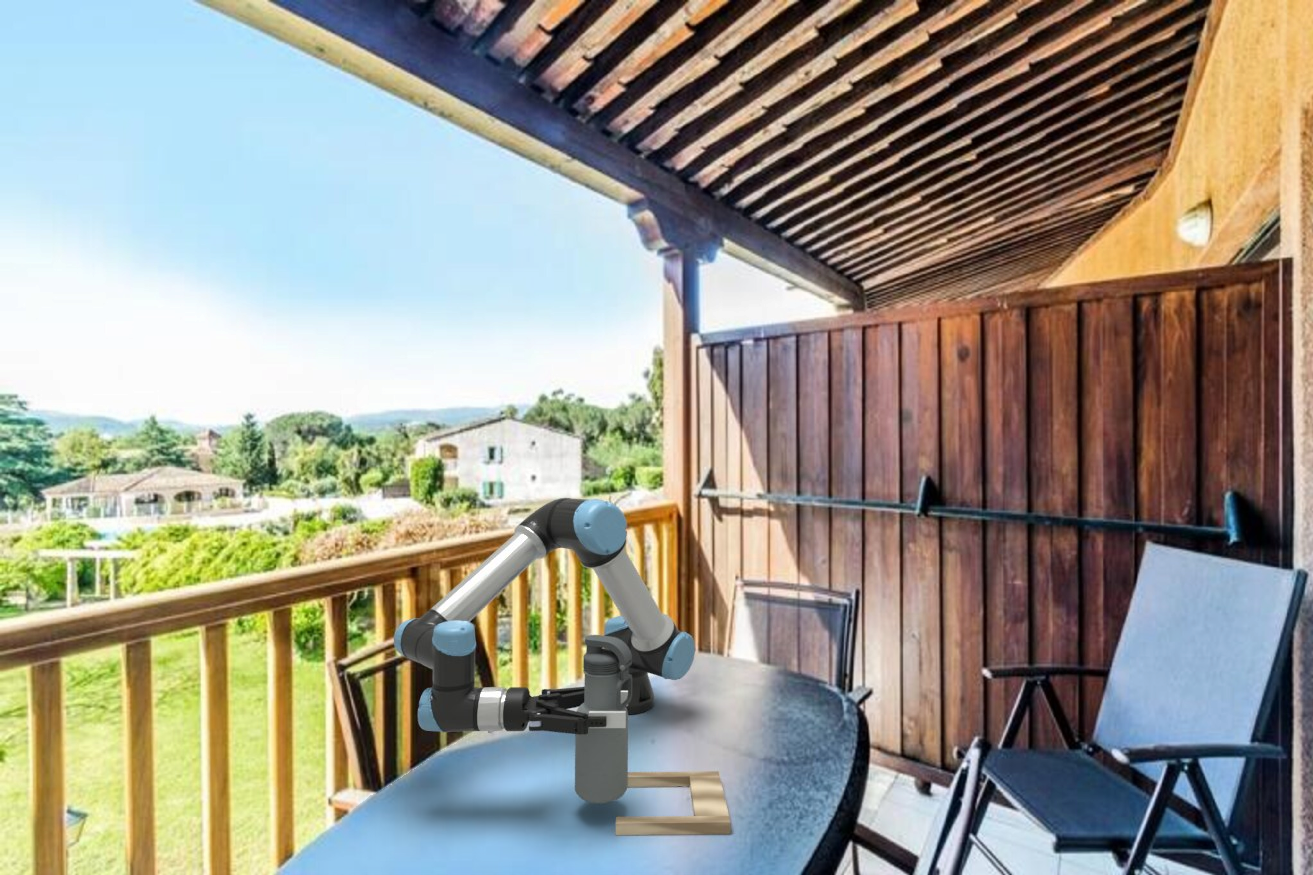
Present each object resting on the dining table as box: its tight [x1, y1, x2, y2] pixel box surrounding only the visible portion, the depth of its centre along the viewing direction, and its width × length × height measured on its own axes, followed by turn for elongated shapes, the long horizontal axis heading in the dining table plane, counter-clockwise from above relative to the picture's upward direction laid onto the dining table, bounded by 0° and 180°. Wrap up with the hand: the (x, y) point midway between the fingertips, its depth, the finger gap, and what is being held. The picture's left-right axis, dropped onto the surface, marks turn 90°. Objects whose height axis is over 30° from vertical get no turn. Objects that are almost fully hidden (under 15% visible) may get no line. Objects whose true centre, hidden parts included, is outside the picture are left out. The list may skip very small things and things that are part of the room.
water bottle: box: [574, 634, 632, 804], centre depth 116 cm, size 10×10×28 cm
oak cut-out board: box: [615, 770, 732, 836], centre depth 118 cm, size 18×20×2 cm
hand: (626, 708), depth 116 cm, fingers closed on water bottle, 9 cm apart
